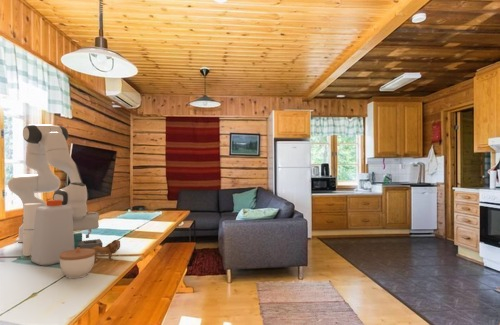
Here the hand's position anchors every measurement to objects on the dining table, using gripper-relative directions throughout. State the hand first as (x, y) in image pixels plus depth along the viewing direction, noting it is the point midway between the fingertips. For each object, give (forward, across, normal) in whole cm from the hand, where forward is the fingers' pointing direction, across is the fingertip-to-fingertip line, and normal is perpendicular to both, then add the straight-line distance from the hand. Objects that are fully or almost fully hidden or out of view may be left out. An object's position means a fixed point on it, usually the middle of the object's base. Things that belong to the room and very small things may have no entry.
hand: (77, 238), depth 162 cm
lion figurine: (+6, -10, +29) cm, 31 cm away
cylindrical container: (+5, +20, -2) cm, 21 cm away
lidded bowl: (+6, +2, +45) cm, 46 cm away
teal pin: (+5, 0, -1) cm, 5 cm away
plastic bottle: (+6, +11, +17) cm, 21 cm away
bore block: (+6, -5, +10) cm, 13 cm away
